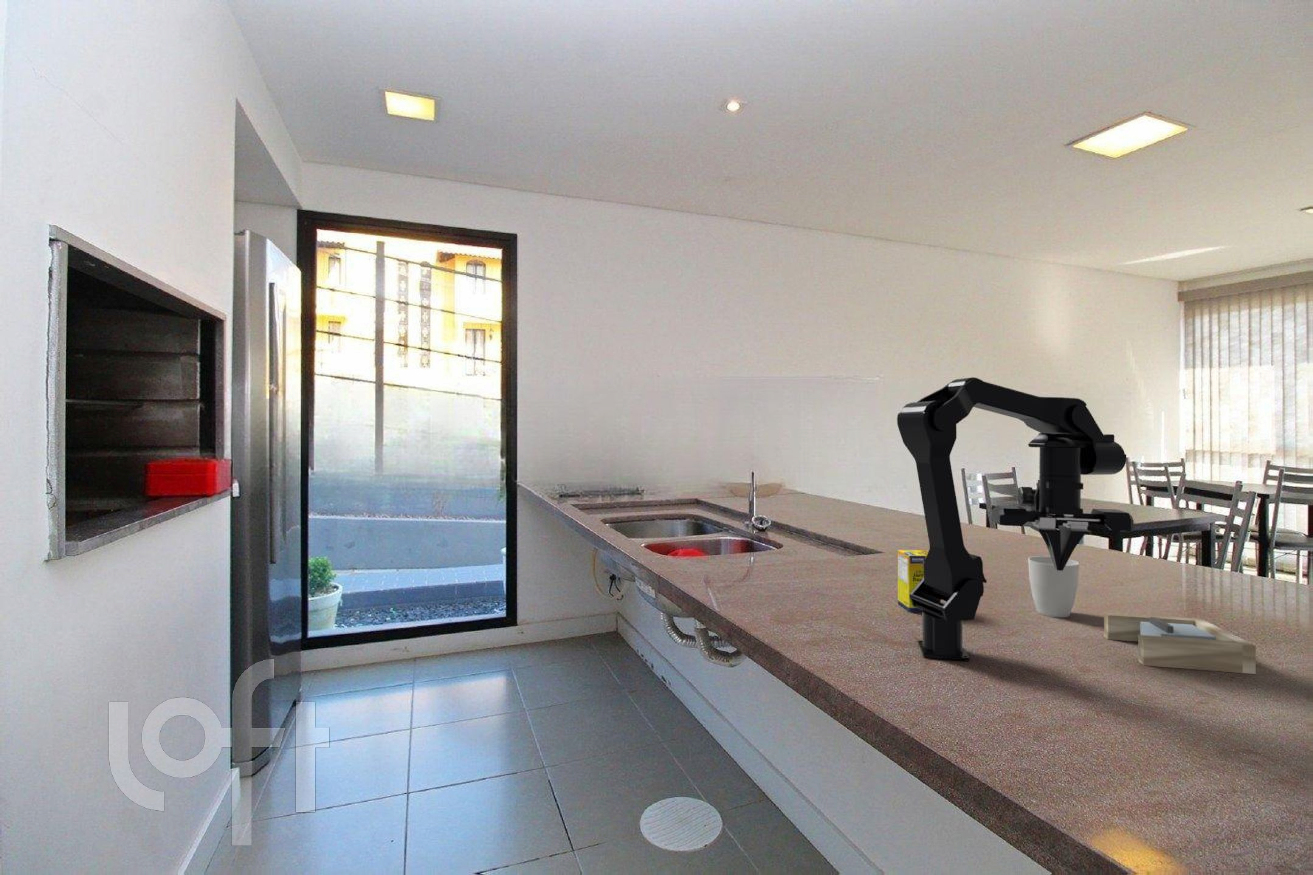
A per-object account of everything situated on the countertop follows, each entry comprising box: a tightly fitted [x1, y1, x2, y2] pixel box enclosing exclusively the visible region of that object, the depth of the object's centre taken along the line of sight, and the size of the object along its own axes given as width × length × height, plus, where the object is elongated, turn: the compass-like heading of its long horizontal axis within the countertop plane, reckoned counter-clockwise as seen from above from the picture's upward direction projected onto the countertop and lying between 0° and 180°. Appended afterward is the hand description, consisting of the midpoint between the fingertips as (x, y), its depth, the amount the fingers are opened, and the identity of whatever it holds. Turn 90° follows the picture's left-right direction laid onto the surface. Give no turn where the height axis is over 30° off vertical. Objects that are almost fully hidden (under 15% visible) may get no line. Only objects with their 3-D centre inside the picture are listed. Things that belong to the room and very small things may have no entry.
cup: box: [1027, 555, 1080, 618], centre depth 115 cm, size 8×8×10 cm
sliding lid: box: [1140, 617, 1216, 640], centre depth 94 cm, size 6×7×5 cm
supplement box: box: [897, 549, 929, 613], centre depth 120 cm, size 6×6×11 cm
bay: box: [1103, 612, 1257, 675], centre depth 94 cm, size 13×14×4 cm
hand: (1058, 569), depth 100 cm, fingers closed
